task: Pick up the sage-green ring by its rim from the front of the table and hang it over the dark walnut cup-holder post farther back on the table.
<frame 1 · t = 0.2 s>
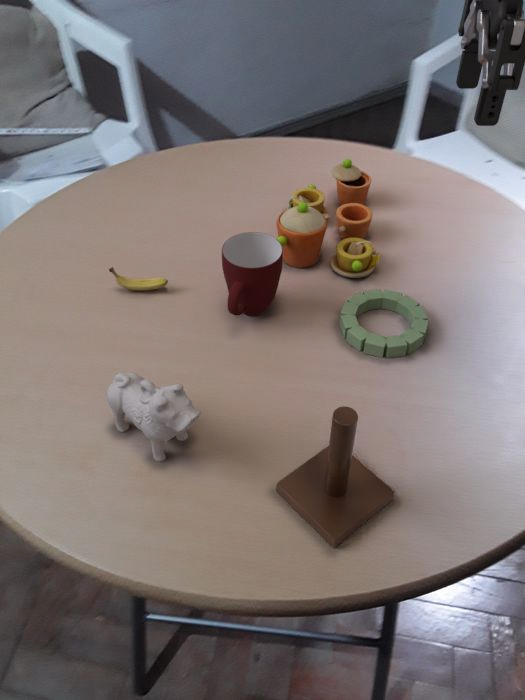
hand: (475, 104, 70), 32 cm above the table, tool pointing down, fingers open, 8 cm apart
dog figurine: (159, 437, 80), on the table
holder: (334, 495, 74), on the table
ring: (382, 327, 93), on the table
toy tea set: (328, 233, 109), on the table
banana: (141, 291, 99), on the table
mug: (250, 313, 95), on the table
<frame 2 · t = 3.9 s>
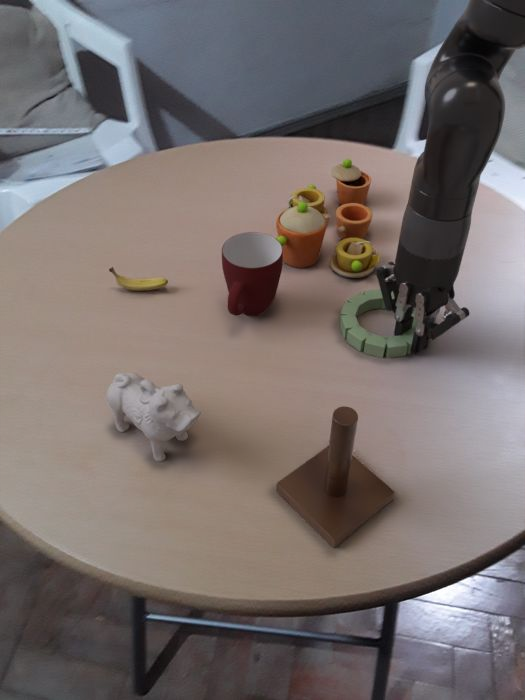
hand: (409, 344, 90), 0 cm above the table, tool pointing down, fingers closed on ring, 2 cm apart
ring: (382, 327, 93), on the table, touching gripper
everything else where it was.
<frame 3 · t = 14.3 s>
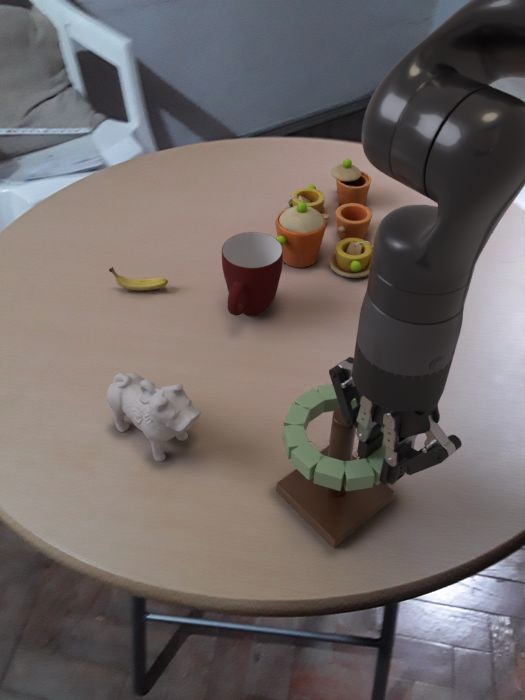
hand: (378, 469, 64), 10 cm above the table, tool pointing down, fingers closed on ring
ring: (342, 440, 67), point 10 cm above the table, touching gripper
everything else where it was.
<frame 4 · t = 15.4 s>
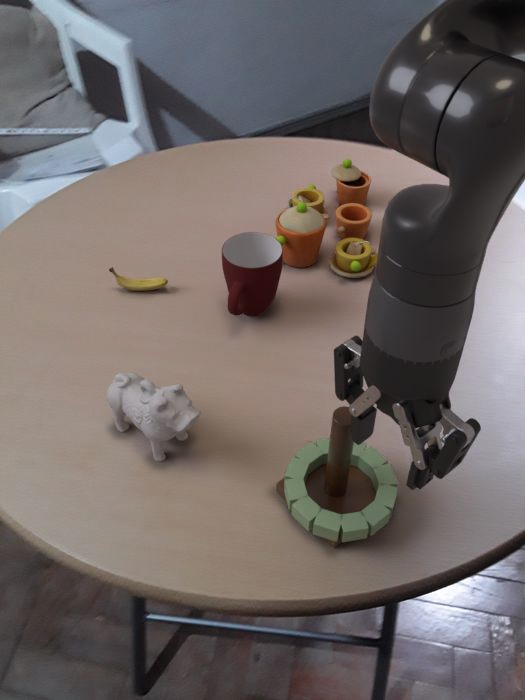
hand: (388, 459, 62), 12 cm above the table, tool pointing down, fingers open, 6 cm apart
ring: (339, 492, 72), point 1 cm above the table, touching holder
everything else where it was.
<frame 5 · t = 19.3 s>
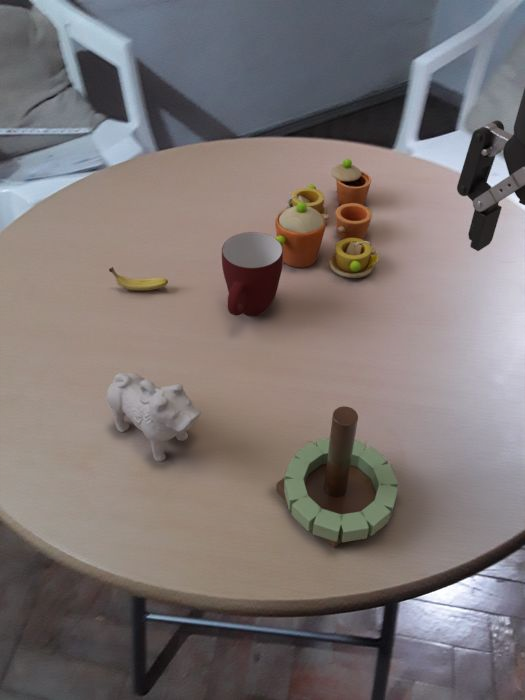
hand: (521, 269, 57), 28 cm above the table, tool pointing down, fingers open, 8 cm apart
nothing on the table moved.
at the end: ring 0.7 cm off-centre on the holder, point 1.5 cm above the holder's base; the gripper is holding nothing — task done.
